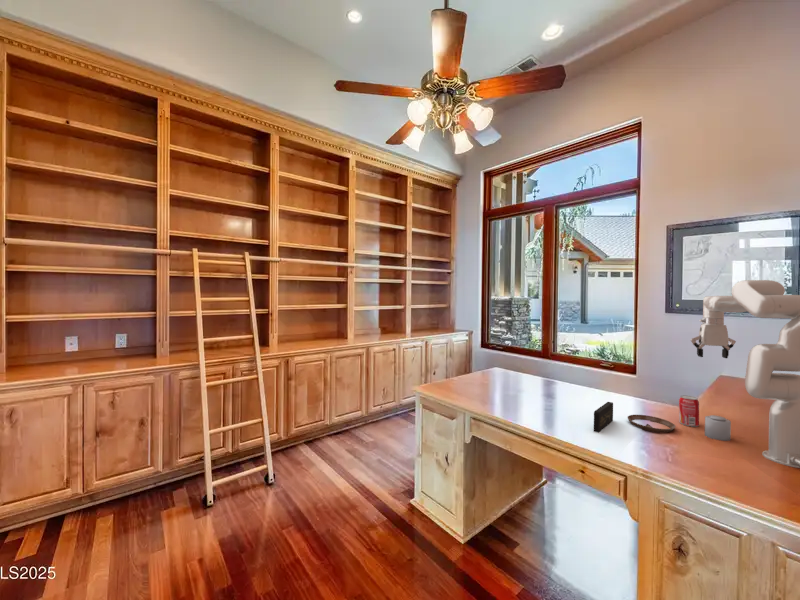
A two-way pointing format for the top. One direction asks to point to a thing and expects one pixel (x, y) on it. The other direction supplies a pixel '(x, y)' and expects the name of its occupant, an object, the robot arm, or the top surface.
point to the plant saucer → (652, 419)
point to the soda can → (689, 411)
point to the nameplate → (603, 416)
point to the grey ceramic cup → (718, 428)
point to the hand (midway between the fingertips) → (712, 357)
